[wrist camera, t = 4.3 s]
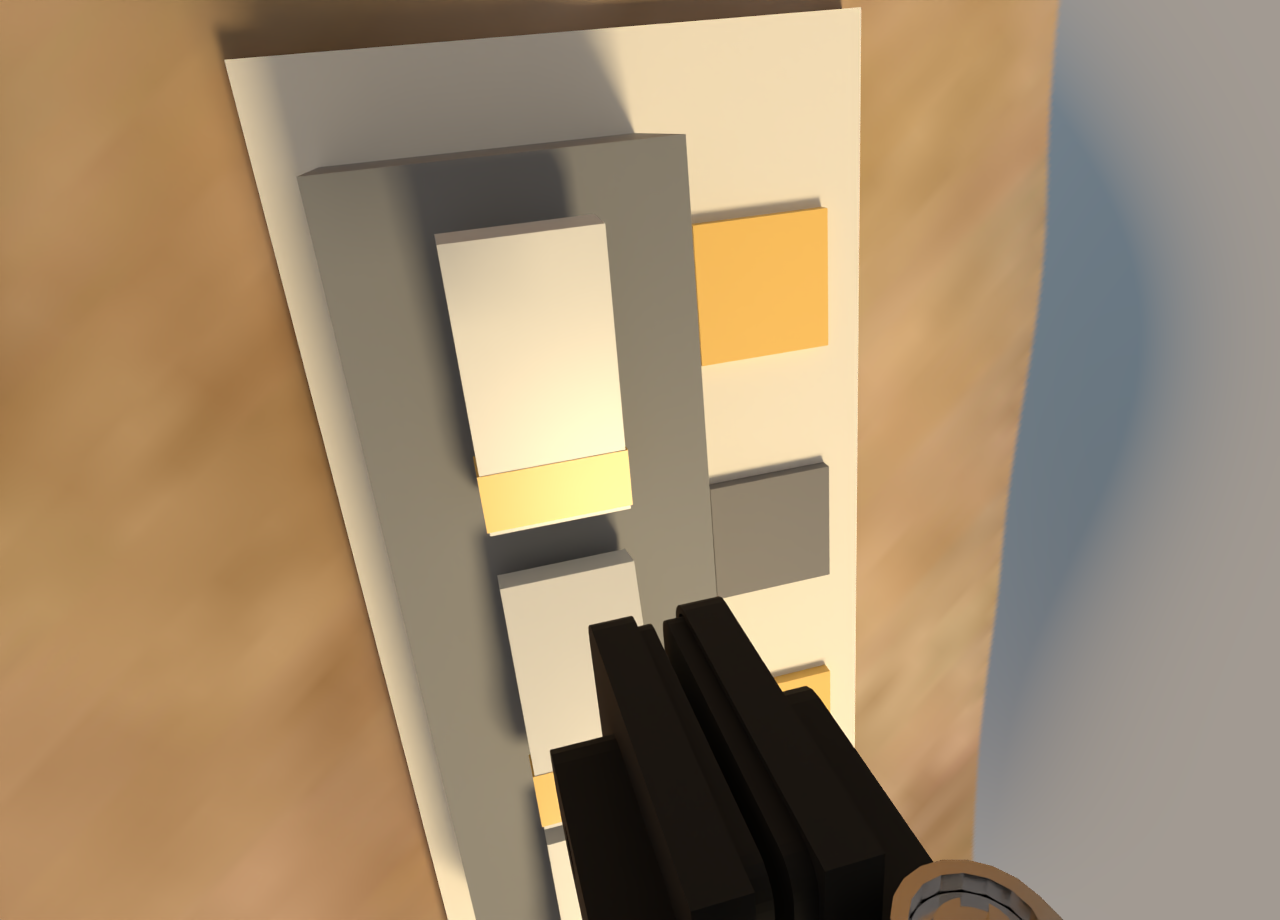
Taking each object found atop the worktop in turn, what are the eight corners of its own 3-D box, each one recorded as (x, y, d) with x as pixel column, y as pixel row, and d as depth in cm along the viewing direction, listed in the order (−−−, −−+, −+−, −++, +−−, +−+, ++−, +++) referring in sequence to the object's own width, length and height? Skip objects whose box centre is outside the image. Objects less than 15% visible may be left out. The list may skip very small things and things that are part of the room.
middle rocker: (495, 575, 20) (497, 590, 19) (627, 548, 21) (636, 561, 20) (538, 805, 22) (542, 830, 21) (660, 773, 22) (670, 796, 21)
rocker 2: (541, 822, 23) (545, 846, 22) (654, 792, 24) (664, 813, 23) (575, 1009, 25) (581, 1039, 24) (682, 976, 25) (692, 1003, 24)
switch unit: (232, 63, 20) (174, 41, 15) (843, 12, 23) (962, -20, 18) (456, 932, 32) (464, 1081, 27) (842, 821, 35) (914, 935, 30)
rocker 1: (431, 234, 16) (433, 245, 15) (596, 213, 17) (607, 223, 16) (483, 514, 19) (488, 537, 18) (621, 487, 20) (632, 508, 19)
